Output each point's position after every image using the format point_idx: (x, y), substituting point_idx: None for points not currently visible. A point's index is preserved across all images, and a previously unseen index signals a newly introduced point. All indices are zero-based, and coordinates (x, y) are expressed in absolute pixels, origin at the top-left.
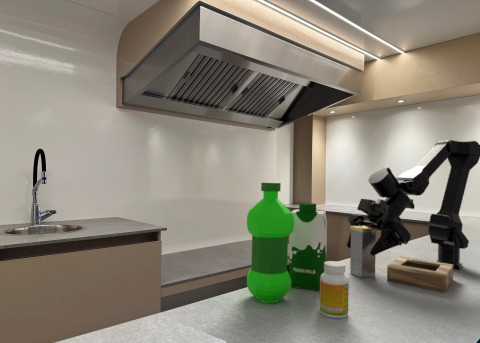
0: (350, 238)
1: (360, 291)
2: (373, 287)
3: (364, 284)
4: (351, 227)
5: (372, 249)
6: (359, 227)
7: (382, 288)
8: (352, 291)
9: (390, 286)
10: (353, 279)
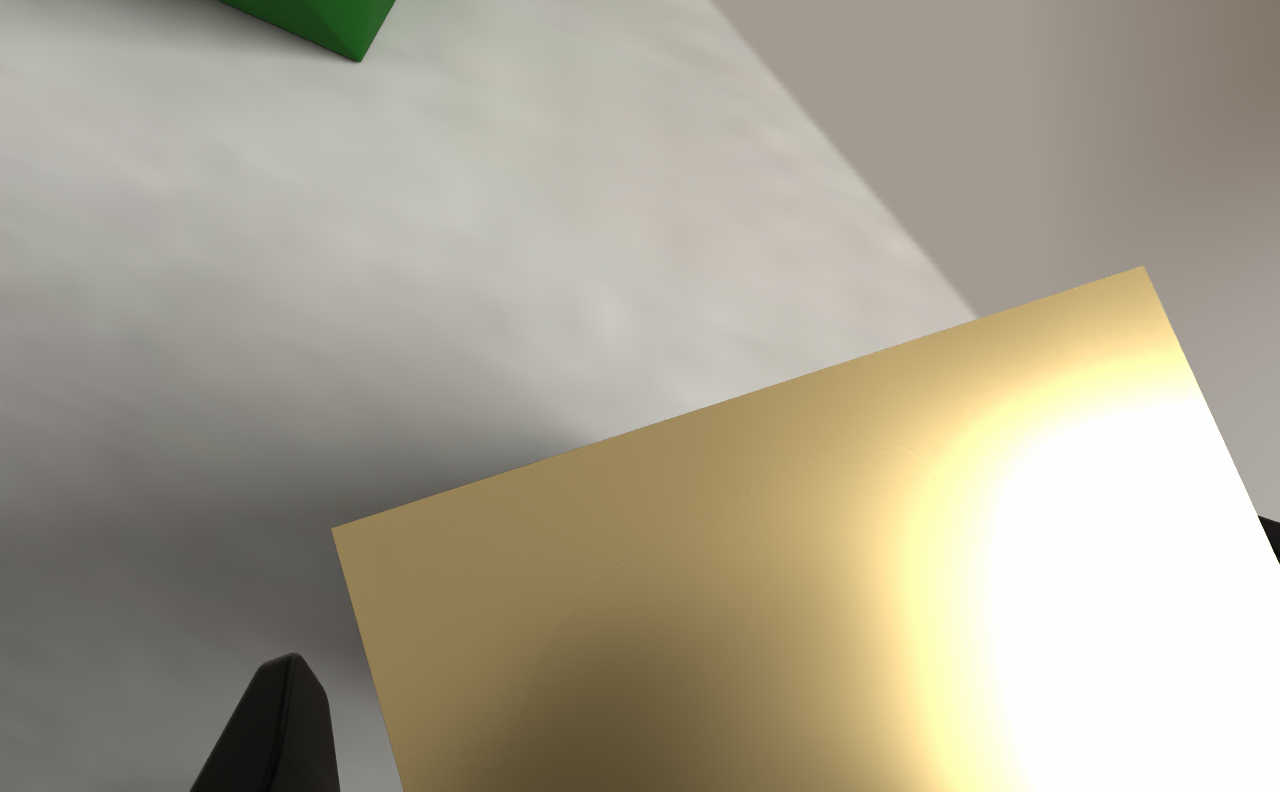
0: None
1: (16, 332)
2: (139, 542)
3: (258, 479)
4: (1053, 295)
5: (250, 726)
6: (851, 564)
7: (90, 640)
8: (28, 246)
9: (156, 783)
10: (448, 423)
